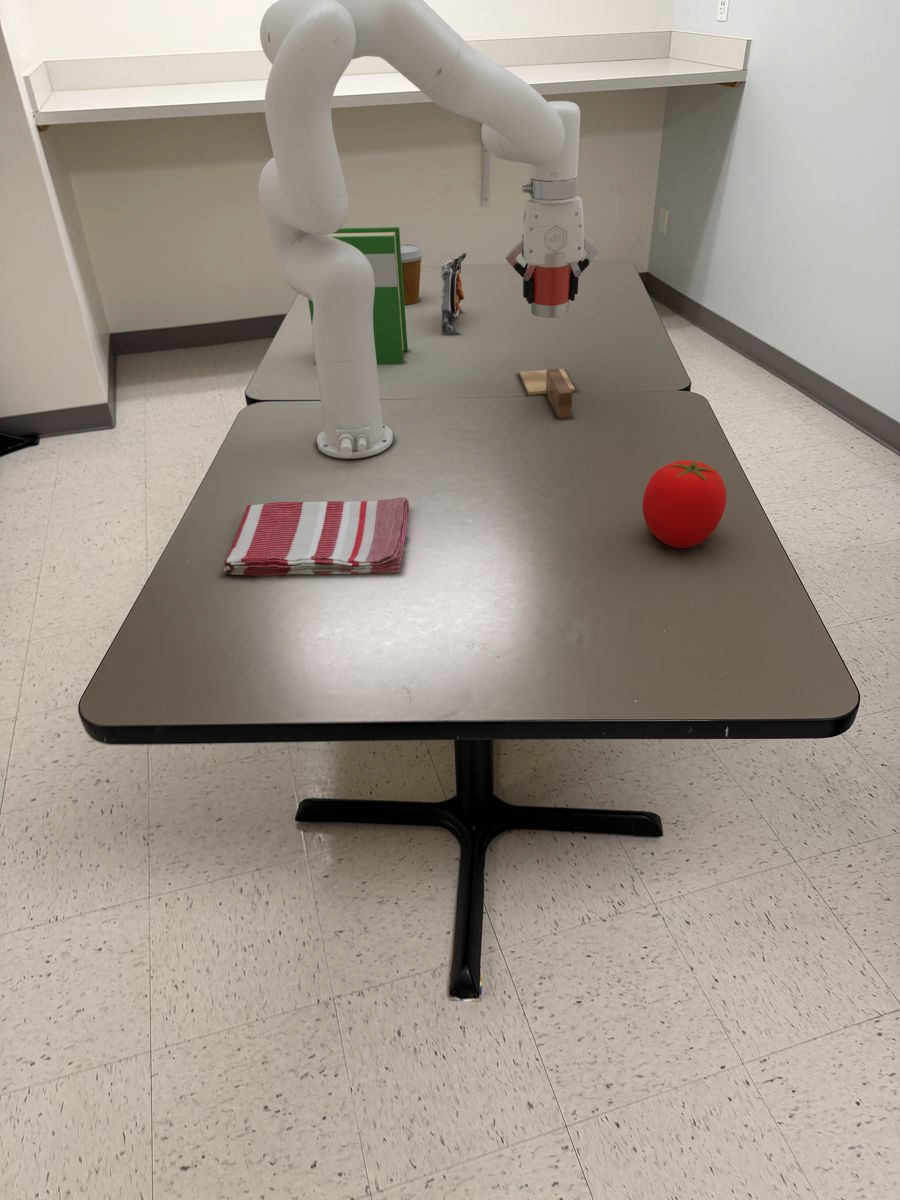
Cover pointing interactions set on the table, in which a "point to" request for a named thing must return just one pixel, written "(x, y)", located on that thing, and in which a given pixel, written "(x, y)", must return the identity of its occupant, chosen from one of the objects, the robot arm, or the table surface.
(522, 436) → the table surface
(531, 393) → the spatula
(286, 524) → the dish towel
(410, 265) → the disposable coffee cup
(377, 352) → the hardback book
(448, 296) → the meal
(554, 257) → the tin can
